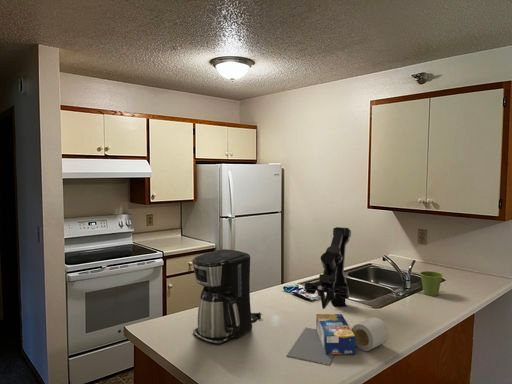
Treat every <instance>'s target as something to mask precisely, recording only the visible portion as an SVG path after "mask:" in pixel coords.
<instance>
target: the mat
mask: <svg viewBox="0 0 512 384" xmlns="http://www.w3.org/2000/svg"><path fill="white" fill-rule="evenodd" d="M287 356H288V358H291V357H293V358H292V359H296V358H299V359H298V360H301V359H304V360H303V361H306V360H309V361H308V362H311V361H315V362H314V363H316V362H320V363H325V364H329V365H328V366H331V364H330V363H332V361H333V358H334V357H335V354H326V353H325V351H324V348H323V345H322V343H321V340H320V337H319V335H318V332H317V329H316V328H310V327H305V328H304V329H303V330H302V332H301V334H300V335H299V336H298V338H297V339H296V341H295V342H294V344H293V345H292V346H291V348H290V349H289V351H288V353H287V354H286V357H287ZM333 356H334V357H333ZM320 363H319V364H320ZM325 364H324V365H325Z"/></svg>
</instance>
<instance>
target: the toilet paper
mask: <svg viewBox="0 0 512 384" xmlns="http://www.w3.org/2000/svg"><path fill="white" fill-rule="evenodd" d="M351 330H352V332H353V333H354V335H355V347H357V349H358V350H360V349H361V350H360V351H362V350H363V351H362V352H369V351H370V350H372V349H374V348H377V347H379V346H381V345H383V344H384V343H386V342H387V341H388V338H389V337H390V335H389V333H390V332H389V330H388V327H387V325H386V324H385V322H384V321H383V320H382V319H380V318H379V317H370V318H368V319H365V320H363V321H362V322H358V323H357V324H355V325H353V326H352V328H351Z"/></svg>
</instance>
